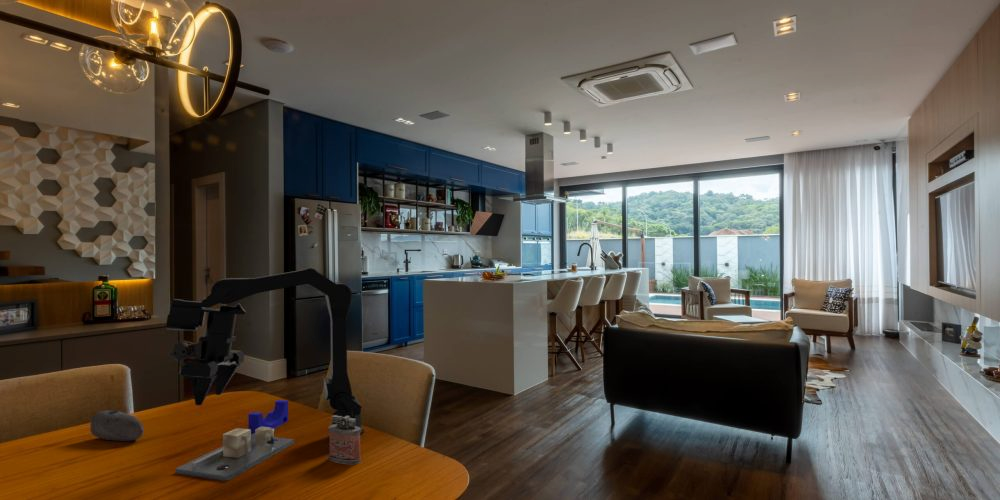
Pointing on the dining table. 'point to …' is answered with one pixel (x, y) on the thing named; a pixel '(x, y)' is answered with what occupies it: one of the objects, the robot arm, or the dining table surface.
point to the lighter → (344, 440)
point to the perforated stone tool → (116, 426)
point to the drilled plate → (230, 467)
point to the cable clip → (269, 417)
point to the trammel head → (237, 442)
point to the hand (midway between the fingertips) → (208, 399)
